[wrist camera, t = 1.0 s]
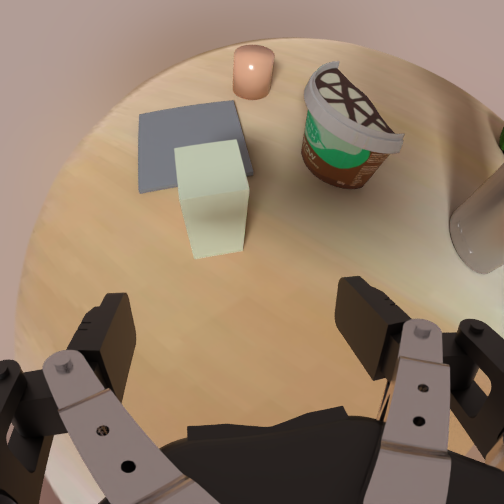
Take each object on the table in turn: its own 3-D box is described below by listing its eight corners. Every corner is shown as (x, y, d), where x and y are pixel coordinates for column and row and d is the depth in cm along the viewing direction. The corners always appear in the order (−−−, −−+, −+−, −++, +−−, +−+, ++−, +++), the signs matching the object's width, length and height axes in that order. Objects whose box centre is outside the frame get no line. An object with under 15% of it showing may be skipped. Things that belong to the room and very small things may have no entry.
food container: (273, 129, 35) (285, 61, 26) (317, 120, 37) (336, 58, 28) (322, 212, 31) (354, 148, 22) (368, 198, 33) (408, 138, 23)
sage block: (233, 209, 31) (236, 139, 22) (242, 250, 29) (249, 189, 20) (188, 216, 30) (174, 148, 21) (194, 259, 28) (179, 200, 19)
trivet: (233, 103, 37) (233, 100, 36) (253, 175, 32) (253, 172, 32) (140, 117, 35) (139, 114, 35) (139, 193, 31) (138, 190, 30)
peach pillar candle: (264, 78, 40) (268, 44, 34) (273, 98, 38) (279, 62, 32) (229, 80, 39) (231, 45, 34) (236, 101, 37) (238, 64, 32)
